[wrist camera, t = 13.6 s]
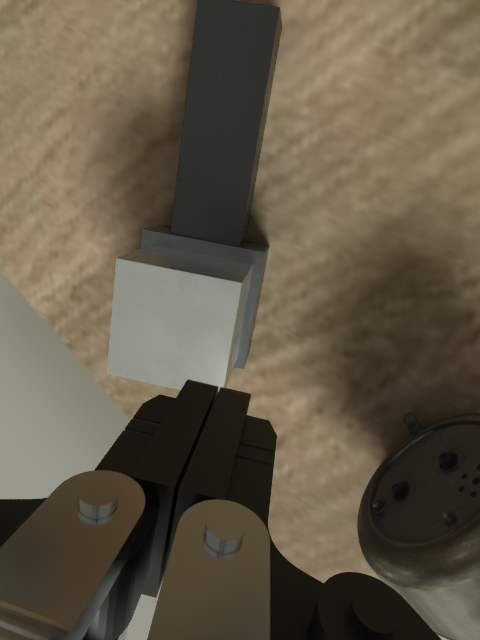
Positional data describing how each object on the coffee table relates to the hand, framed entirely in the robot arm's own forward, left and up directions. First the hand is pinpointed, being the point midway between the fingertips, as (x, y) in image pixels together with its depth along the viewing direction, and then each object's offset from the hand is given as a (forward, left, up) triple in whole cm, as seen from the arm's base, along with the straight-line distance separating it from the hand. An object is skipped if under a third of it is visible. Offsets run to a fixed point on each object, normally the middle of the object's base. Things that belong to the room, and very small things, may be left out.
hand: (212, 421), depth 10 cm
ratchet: (-4, -4, -18) cm, 19 cm away
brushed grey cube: (+2, -4, -15) cm, 15 cm away
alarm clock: (+9, +12, -18) cm, 23 cm away
